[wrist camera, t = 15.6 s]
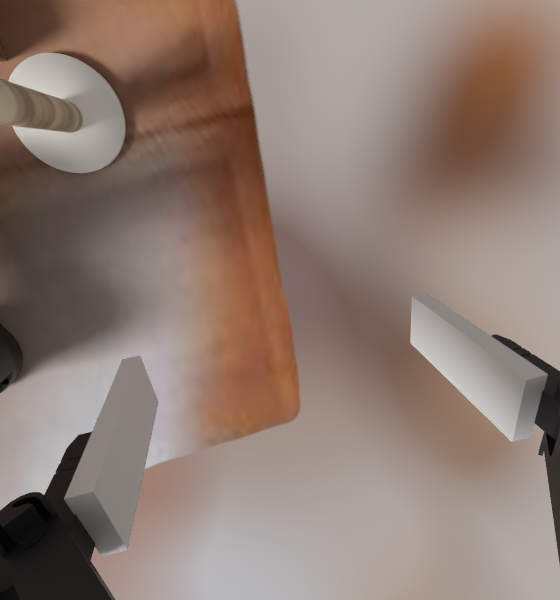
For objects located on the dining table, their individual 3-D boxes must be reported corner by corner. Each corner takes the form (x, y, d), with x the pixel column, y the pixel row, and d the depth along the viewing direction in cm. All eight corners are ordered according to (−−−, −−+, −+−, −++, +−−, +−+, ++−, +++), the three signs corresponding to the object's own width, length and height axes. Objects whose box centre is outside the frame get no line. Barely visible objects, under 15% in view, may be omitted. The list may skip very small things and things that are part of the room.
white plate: (40, 180, 44) (35, 180, 43) (-11, 62, 39) (-17, 60, 38) (139, 164, 46) (137, 164, 45) (104, 48, 40) (102, 46, 39)
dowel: (58, 134, 42) (-23, 127, 27) (45, 102, 40) (-47, 76, 26) (87, 130, 42) (22, 120, 28) (75, 98, 41) (1, 70, 26)
